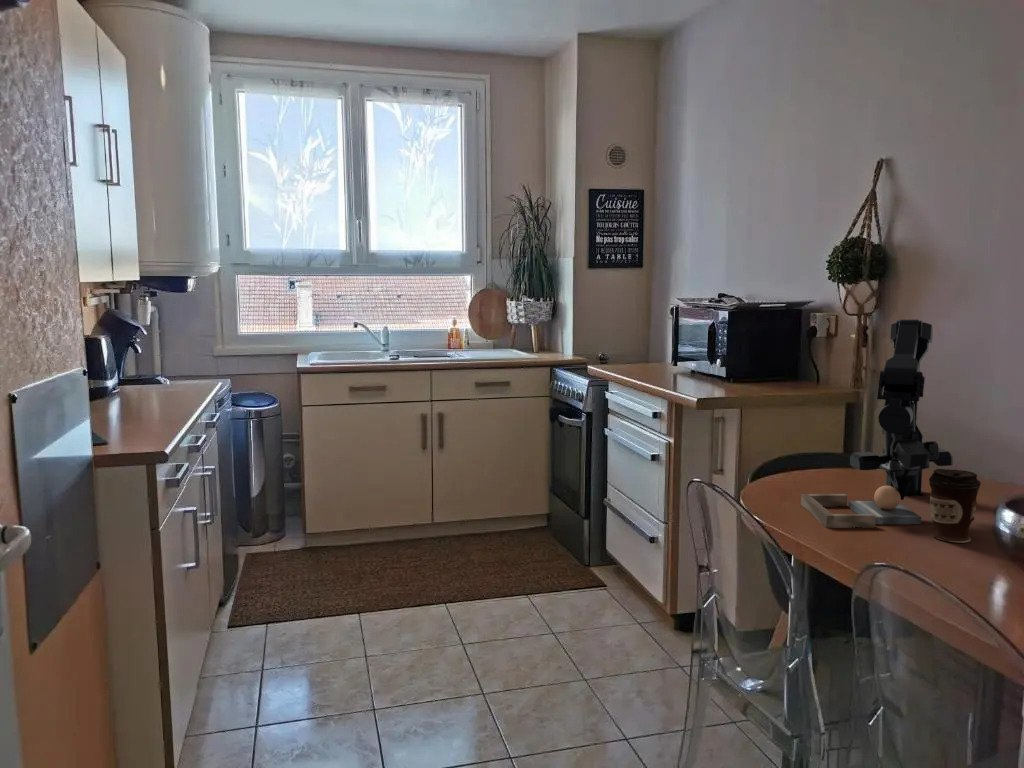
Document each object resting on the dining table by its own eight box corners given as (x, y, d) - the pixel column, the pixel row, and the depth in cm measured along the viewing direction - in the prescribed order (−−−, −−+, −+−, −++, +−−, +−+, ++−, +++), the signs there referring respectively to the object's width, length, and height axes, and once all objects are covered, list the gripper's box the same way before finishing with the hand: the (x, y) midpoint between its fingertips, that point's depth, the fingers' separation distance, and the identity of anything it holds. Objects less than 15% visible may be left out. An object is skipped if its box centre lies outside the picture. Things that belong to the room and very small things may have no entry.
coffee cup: (957, 548, 142) (961, 479, 140) (916, 536, 149) (918, 470, 148) (986, 540, 146) (990, 473, 144) (944, 529, 153) (947, 464, 152)
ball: (898, 497, 165) (887, 478, 164) (909, 504, 160) (897, 485, 159) (877, 509, 165) (866, 490, 165) (887, 517, 160) (875, 497, 160)
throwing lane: (891, 504, 171) (891, 493, 170) (926, 527, 154) (926, 515, 154) (801, 505, 172) (801, 494, 172) (826, 527, 156) (826, 515, 155)
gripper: (869, 434, 153) (871, 511, 154) (966, 428, 152) (967, 506, 153) (848, 426, 164) (850, 498, 165) (938, 421, 163) (939, 493, 164)
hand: (901, 499), depth 162 cm, fingers closed, pressing on ball
